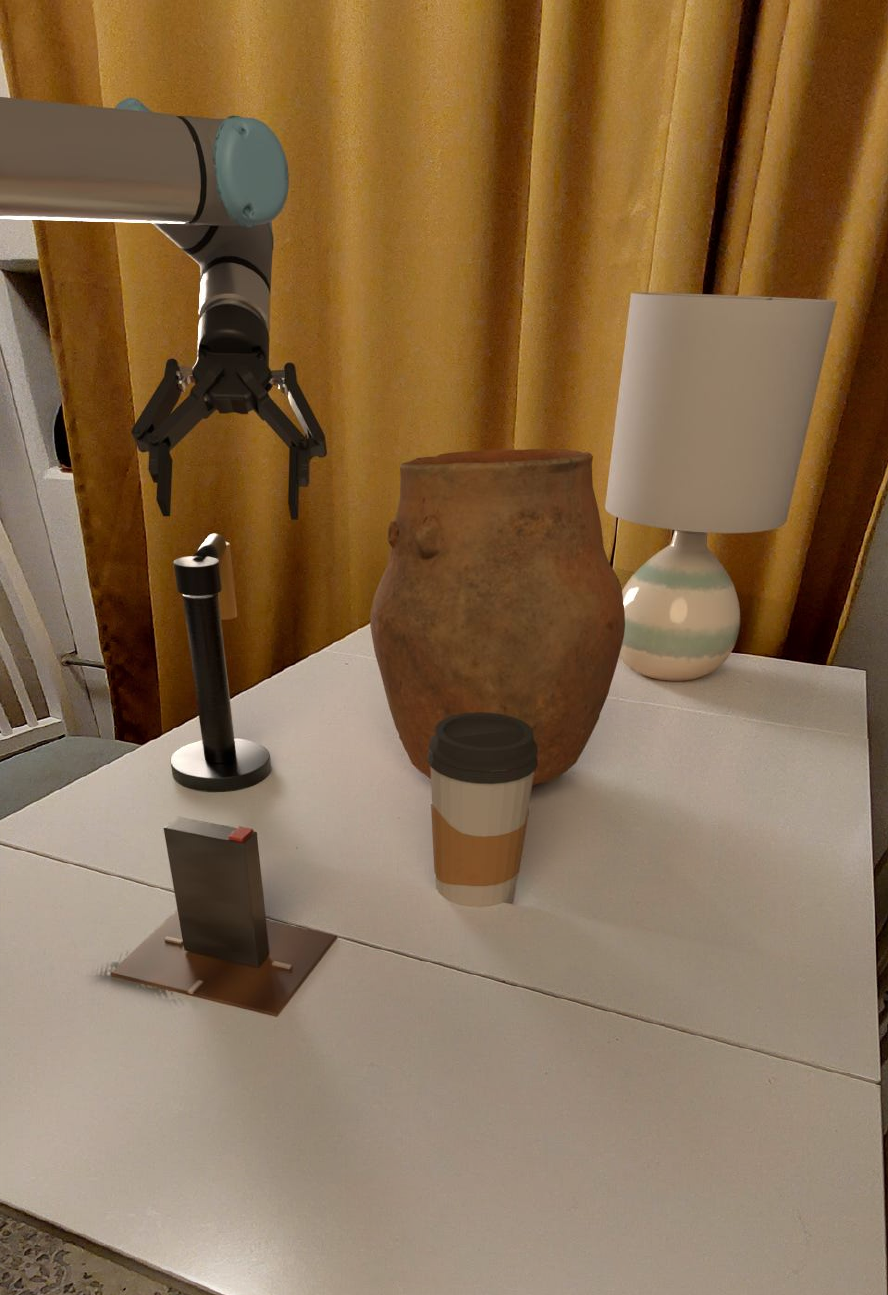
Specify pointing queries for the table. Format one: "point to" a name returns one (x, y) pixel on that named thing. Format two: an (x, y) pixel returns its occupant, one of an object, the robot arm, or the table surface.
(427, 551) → the pot
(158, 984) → the brown wooden board
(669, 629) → the lamp
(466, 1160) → the table surface
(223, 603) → the crank handle
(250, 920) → the dark gray slab
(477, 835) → the coffee cup
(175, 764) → the faucet
